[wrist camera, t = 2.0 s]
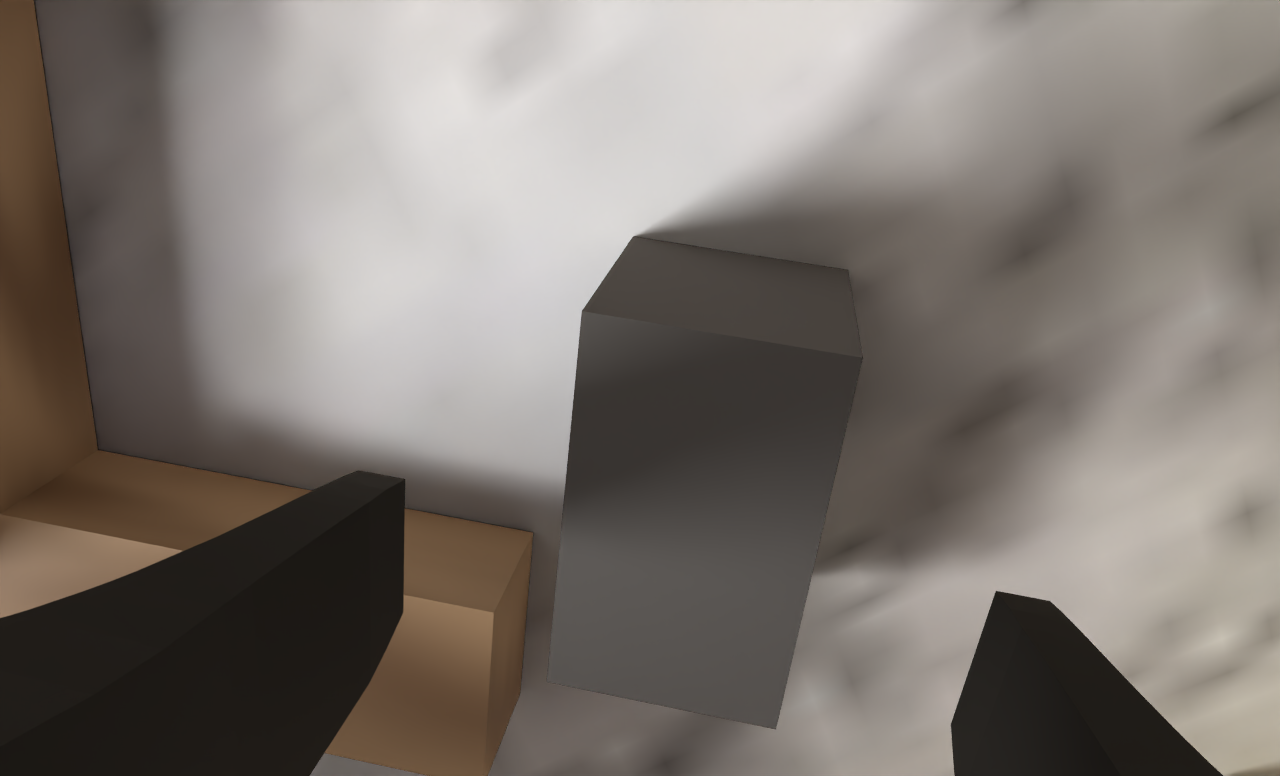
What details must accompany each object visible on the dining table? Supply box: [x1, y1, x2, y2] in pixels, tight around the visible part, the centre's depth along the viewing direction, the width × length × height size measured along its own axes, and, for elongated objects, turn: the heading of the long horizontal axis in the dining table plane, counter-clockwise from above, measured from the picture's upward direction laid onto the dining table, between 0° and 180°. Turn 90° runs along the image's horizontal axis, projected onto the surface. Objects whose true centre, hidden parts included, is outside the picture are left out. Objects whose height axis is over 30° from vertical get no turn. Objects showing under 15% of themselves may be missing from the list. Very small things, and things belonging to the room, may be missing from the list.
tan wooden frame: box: [0, 0, 533, 776], centre depth 14 cm, size 16×15×6 cm
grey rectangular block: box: [547, 237, 863, 729], centre depth 14 cm, size 6×4×4 cm, turn 173°
